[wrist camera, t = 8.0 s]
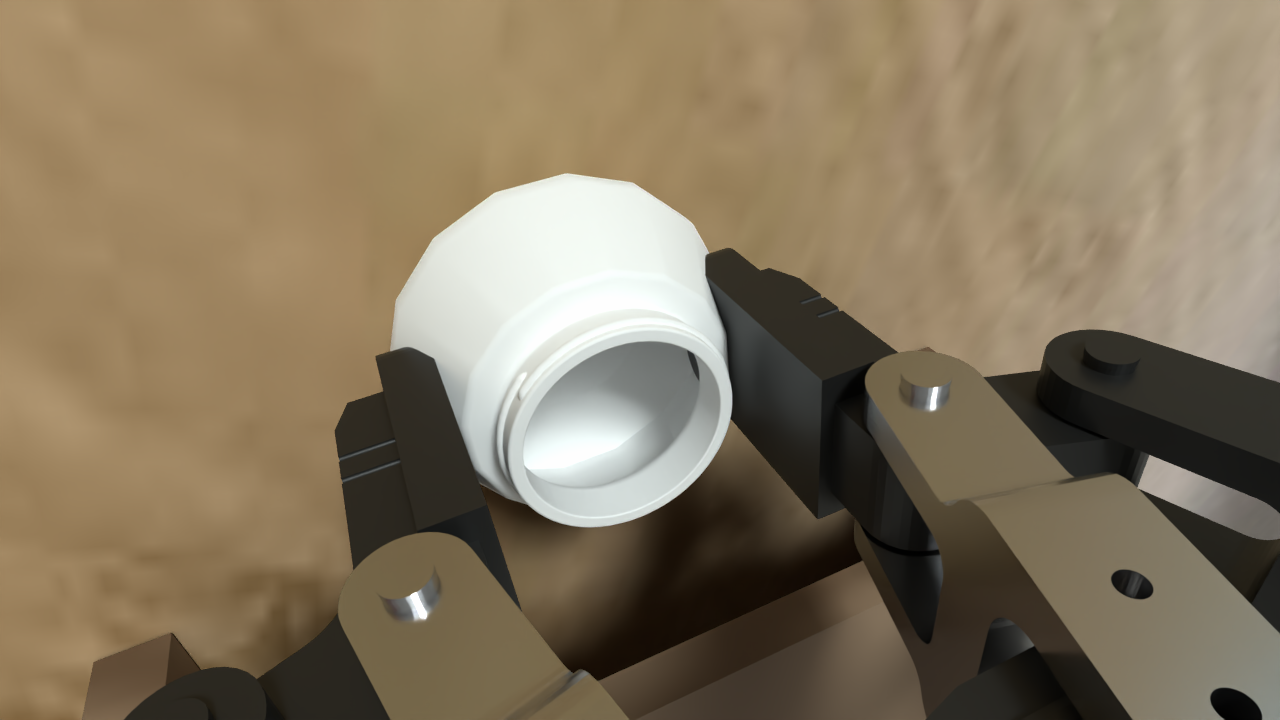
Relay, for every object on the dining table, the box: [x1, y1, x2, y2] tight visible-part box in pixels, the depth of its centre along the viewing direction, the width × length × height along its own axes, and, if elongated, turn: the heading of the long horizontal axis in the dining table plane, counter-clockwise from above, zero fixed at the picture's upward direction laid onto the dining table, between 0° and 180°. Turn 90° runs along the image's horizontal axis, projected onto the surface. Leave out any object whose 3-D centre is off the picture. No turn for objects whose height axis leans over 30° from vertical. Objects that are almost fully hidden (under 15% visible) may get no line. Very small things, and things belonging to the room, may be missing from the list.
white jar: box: [390, 173, 732, 527], centre depth 11 cm, size 5×3×5 cm
